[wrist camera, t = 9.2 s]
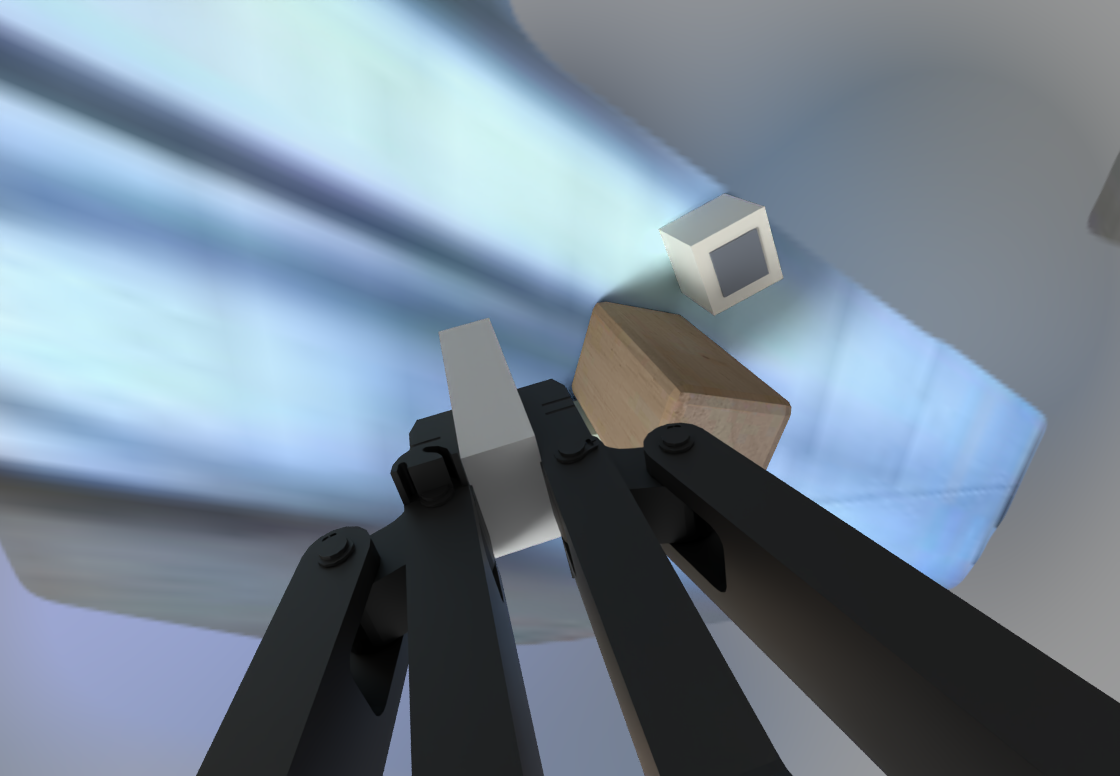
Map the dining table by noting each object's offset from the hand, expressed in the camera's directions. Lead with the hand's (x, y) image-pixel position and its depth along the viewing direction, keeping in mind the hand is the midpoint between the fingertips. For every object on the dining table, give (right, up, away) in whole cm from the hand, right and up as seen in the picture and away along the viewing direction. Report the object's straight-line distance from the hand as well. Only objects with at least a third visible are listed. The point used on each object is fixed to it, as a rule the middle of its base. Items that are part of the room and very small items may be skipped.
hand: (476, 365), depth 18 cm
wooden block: (+9, +3, +43) cm, 44 cm away
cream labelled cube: (+16, +13, +39) cm, 45 cm away
